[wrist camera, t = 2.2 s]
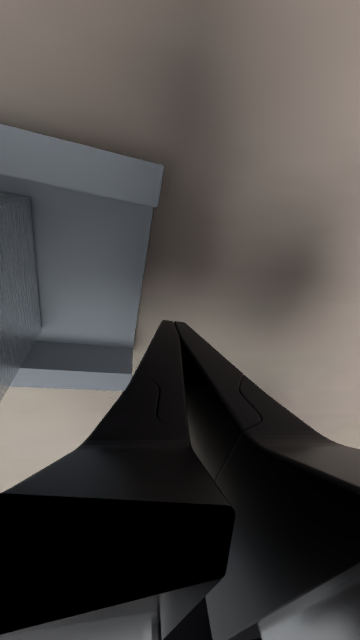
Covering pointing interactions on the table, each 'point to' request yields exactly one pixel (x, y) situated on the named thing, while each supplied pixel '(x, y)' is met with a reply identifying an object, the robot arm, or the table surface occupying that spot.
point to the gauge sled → (16, 287)
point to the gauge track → (82, 255)
